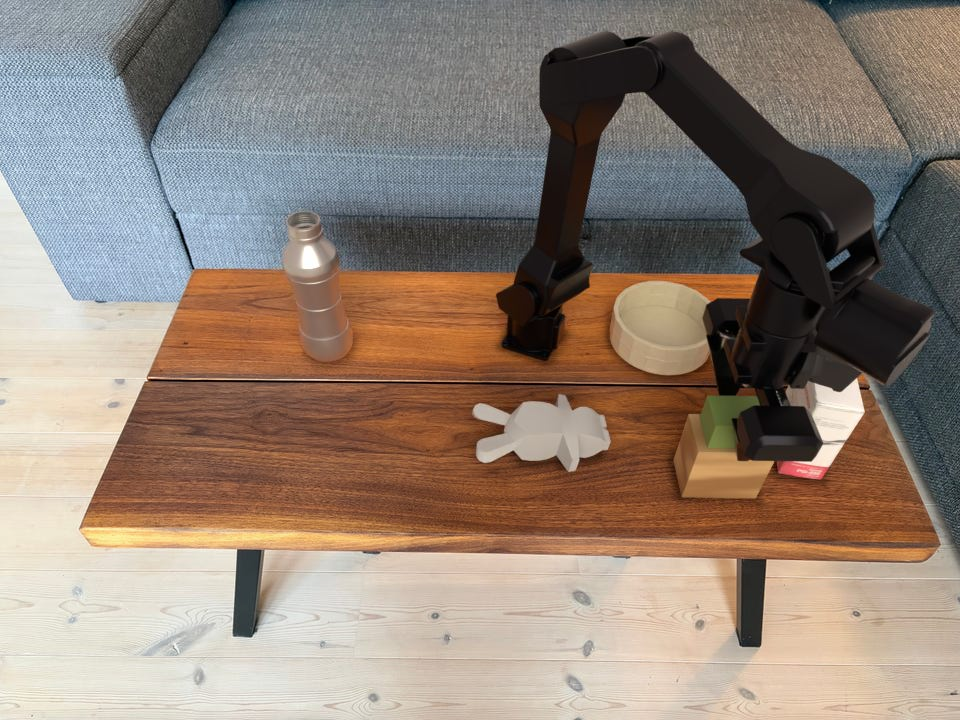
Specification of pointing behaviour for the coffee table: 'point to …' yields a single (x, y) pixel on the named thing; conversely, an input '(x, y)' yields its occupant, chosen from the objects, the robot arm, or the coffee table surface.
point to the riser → (714, 468)
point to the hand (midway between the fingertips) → (733, 430)
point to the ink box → (825, 424)
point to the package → (723, 418)
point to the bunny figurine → (544, 432)
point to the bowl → (660, 327)
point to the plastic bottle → (316, 288)
